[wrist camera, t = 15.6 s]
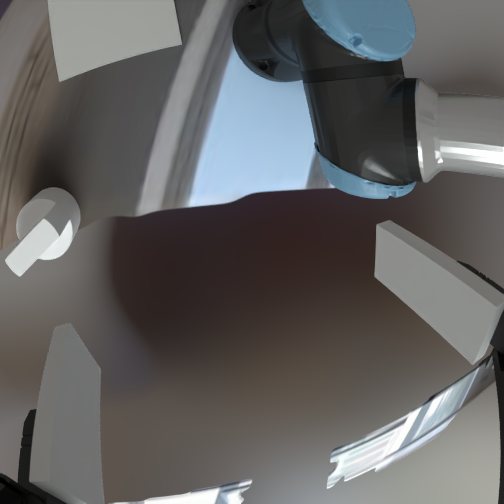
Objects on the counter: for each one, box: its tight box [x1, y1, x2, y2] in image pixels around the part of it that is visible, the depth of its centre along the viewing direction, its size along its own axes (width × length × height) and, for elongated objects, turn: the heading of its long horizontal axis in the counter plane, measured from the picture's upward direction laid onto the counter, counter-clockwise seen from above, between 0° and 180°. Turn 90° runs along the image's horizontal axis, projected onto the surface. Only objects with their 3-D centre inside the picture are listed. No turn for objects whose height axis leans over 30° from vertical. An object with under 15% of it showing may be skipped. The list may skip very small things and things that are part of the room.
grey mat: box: [48, 0, 182, 82], centre depth 30 cm, size 18×18×1 cm
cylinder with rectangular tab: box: [5, 187, 81, 276], centre depth 36 cm, size 9×9×12 cm
